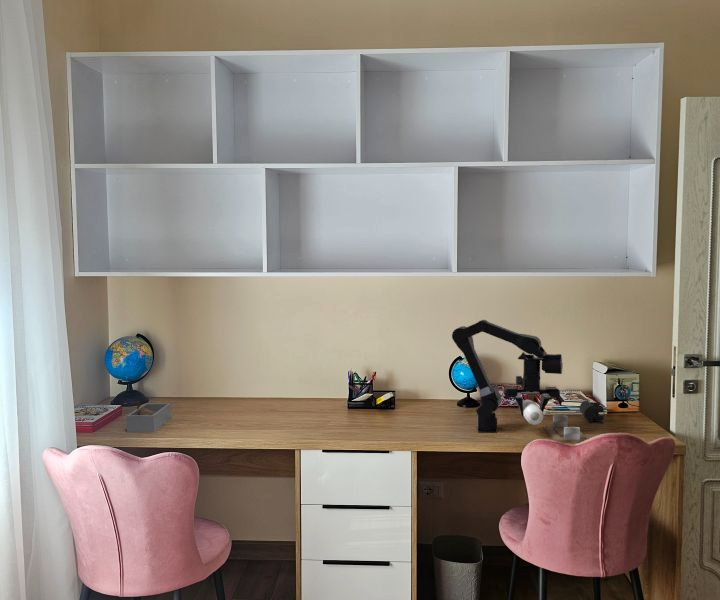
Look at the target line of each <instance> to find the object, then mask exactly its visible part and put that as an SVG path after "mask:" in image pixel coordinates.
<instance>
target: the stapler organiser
mask: <svg viewBox="0 0 720 600" xmlns="http://www.w3.org/2000/svg"><path fill="white" fill-rule="evenodd" d="M143 408H145V409H149V410H151V411H153V412H155V413H154V414H153V415H139V414H138V413H139V410H140V409H143ZM125 417H126V418H125V419H126V433H155V432H157V430H159V429H160V428H162V427H163V426H164V425H162V423H163V422H164V423H165V424H167V423H168V422H169V421H170V420H171V419H172V403H163V402H162V403H156V402H154V403H151V402H150V403H148V402H147V403H144V404H142V405H141V406H139V409H137V408H136V409H135V410H133V411H132V412H130V413H128V414H126V415H125Z"/></svg>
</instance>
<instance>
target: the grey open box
mask: <svg viewBox="0 0 720 600" xmlns="http://www.w3.org/2000/svg"><path fill="white" fill-rule="evenodd" d="M133 404H136V405H137V408H136V409H139V407H141V406H140V405H141V401H139V400H136V401H133V402H131V403H130V404H129V405H128V408H130V406H131V405H133ZM154 413H155V412H153V411H151V410H149V409H145V408H143V409H140V410H139V413H138V414H139V415H153V414H154ZM165 424H166V423H164V422H163V423H162V425H163V426H164V425H165Z"/></svg>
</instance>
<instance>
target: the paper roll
mask: <svg viewBox="0 0 720 600" xmlns="http://www.w3.org/2000/svg"><path fill="white" fill-rule="evenodd" d="M522 417H524V419H525V420H526V421H527V422H528V423H529V424H530V425H534V426H536V425H539V424H540V423H541V422H542V421H543V420H544V411H543V412H542V411H541V410H540V406H538V405H537V404H536V403H535V402H534V401H533V400H531V399H525V400H523V416H522Z"/></svg>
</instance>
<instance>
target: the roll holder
mask: <svg viewBox="0 0 720 600" xmlns="http://www.w3.org/2000/svg"><path fill="white" fill-rule="evenodd" d="M568 421H569V416H568V415H565V414H564V415H562V414H559V415H558V414H557V415H556V414H555V415H553V414H552V425H544V430H545V431H546V433H547V434H548V435H549V436H550V437H551V439H552V440H553V441H554V442H555V441H558V442H561V443H568V444H569V443H575V444H576V443H578V444H580V442H582V441H584V440H586V439H588V437H586V436H585V435H584V434H583V432H582V431H581V428H580V427H579V426H574V425H568V423H569V422H568ZM558 442H557V443H558Z"/></svg>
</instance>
